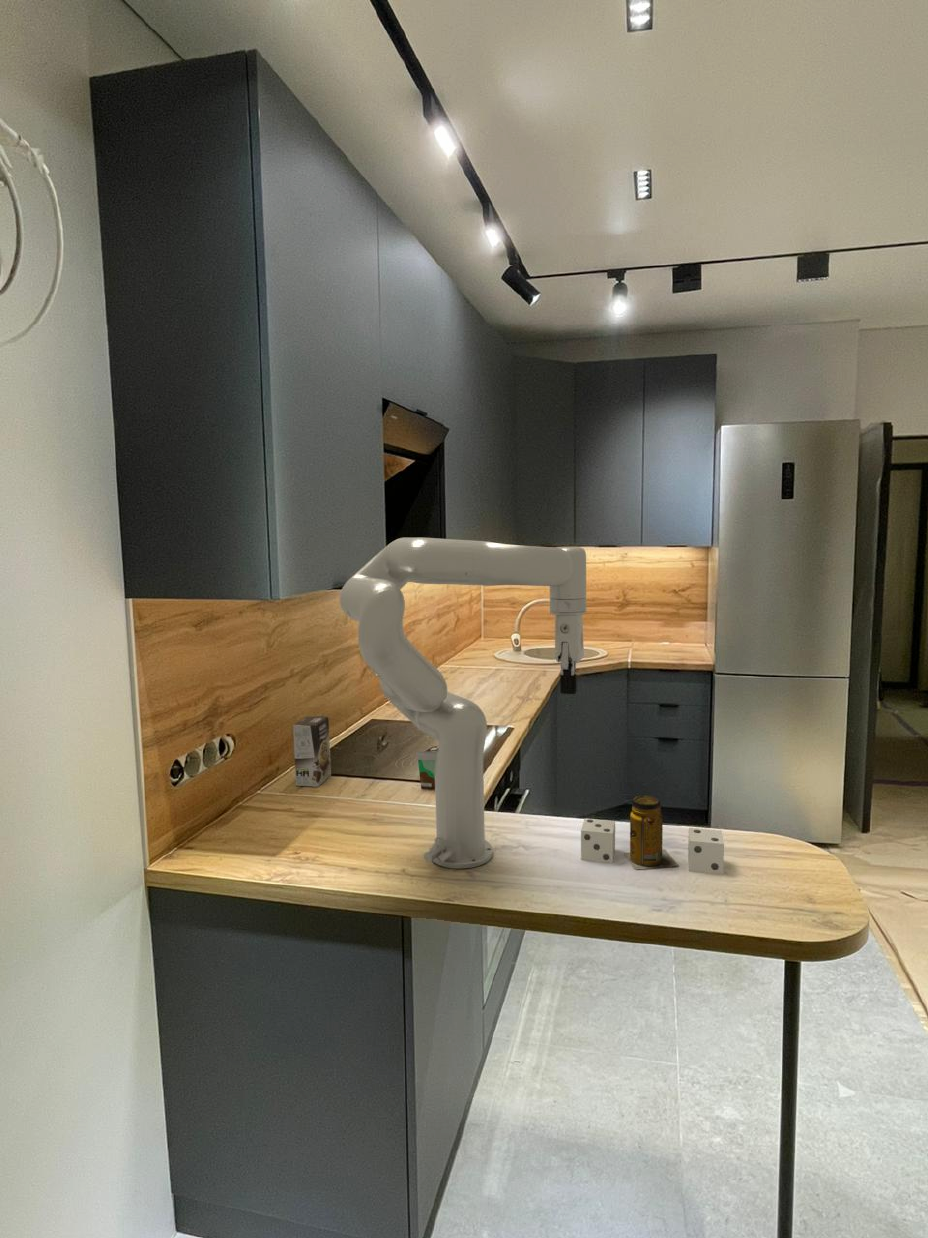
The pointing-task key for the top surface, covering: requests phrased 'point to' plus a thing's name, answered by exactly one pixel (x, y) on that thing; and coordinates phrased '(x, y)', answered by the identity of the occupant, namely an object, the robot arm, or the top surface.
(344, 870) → the top surface
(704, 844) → the two dot block
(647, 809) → the condiment
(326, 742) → the coffee box
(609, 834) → the three dot block
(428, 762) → the food container
